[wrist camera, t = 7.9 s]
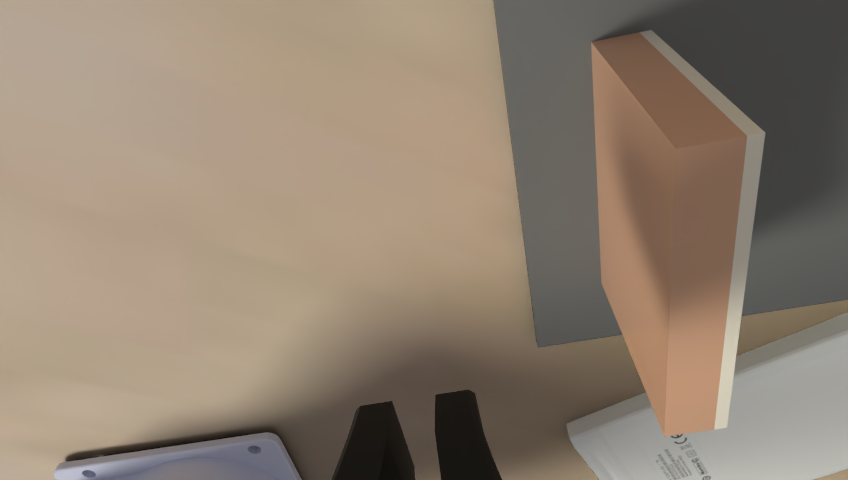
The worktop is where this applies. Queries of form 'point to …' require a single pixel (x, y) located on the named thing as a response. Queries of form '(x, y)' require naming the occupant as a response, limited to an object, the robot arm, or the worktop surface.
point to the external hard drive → (739, 420)
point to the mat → (739, 82)
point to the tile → (674, 223)
